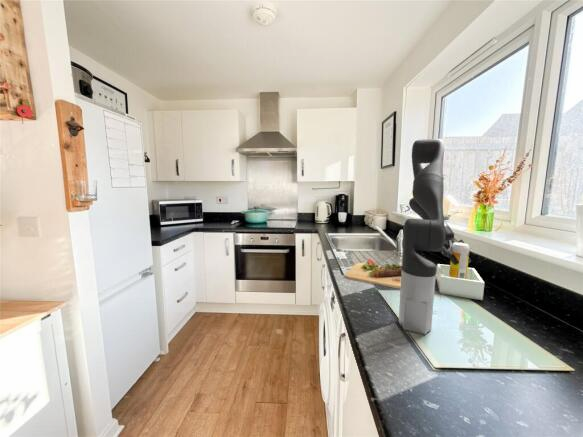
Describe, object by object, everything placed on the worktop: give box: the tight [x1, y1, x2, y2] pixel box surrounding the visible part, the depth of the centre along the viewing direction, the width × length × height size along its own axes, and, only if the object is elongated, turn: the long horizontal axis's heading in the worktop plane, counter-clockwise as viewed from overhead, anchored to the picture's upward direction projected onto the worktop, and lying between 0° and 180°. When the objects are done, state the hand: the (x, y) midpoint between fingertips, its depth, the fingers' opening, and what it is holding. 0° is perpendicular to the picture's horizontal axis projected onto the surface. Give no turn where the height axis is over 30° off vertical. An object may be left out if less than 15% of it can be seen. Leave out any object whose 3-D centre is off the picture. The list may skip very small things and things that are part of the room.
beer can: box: [449, 242, 471, 279], centre depth 102 cm, size 6×6×15 cm
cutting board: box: [344, 258, 402, 290], centre depth 116 cm, size 35×23×8 cm
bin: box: [435, 263, 485, 301], centre depth 103 cm, size 18×14×7 cm
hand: (463, 263), depth 101 cm, fingers closed on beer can, 6 cm apart
